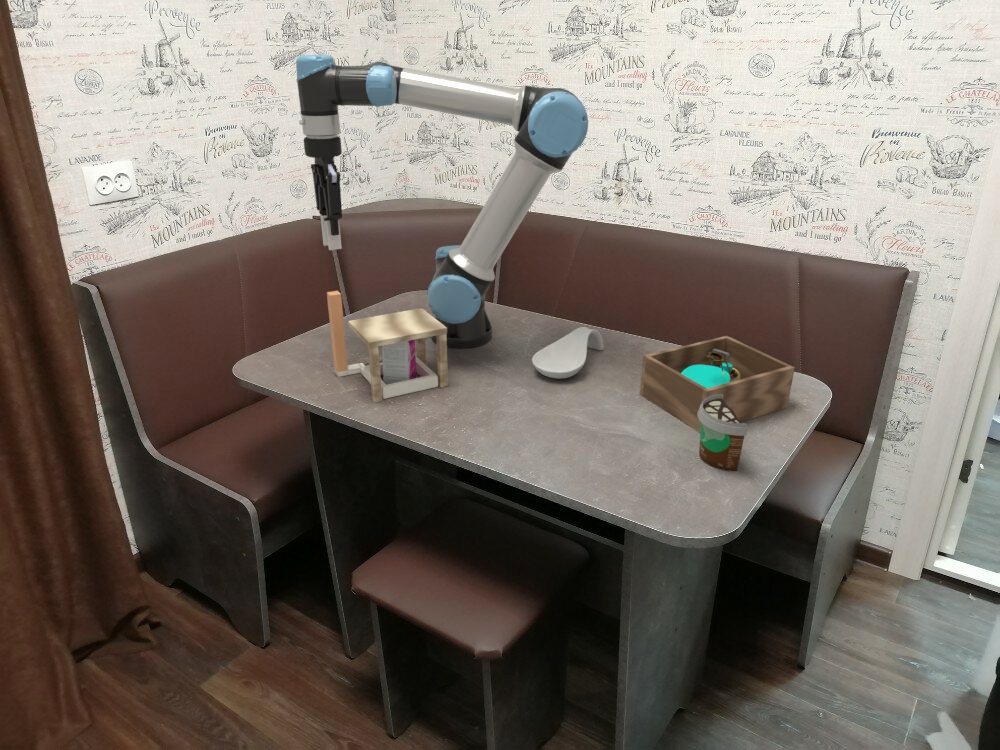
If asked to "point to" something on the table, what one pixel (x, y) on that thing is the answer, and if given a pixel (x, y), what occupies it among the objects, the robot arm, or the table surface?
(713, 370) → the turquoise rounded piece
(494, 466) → the table surface
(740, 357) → the teapot crate
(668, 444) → the table surface
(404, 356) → the supplement box
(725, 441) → the food container
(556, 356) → the spoon rest
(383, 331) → the small wooden stool
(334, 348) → the sled
